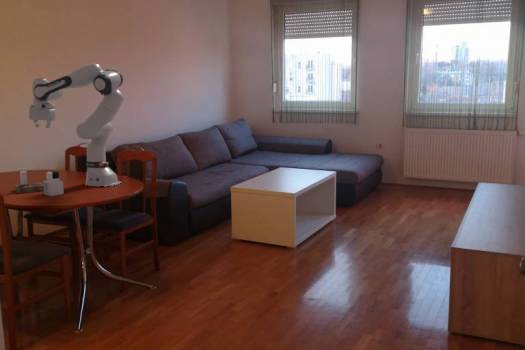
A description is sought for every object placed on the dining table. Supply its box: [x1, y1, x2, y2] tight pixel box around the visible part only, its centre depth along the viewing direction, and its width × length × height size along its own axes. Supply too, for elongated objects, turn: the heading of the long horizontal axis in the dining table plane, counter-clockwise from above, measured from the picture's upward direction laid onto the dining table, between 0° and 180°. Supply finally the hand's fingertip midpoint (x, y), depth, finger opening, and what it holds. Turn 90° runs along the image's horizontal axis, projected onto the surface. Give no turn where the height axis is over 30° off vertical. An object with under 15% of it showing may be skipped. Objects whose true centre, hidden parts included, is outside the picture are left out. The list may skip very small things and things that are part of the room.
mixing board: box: [14, 181, 44, 194], centre depth 311 cm, size 20×11×3 cm, turn 126°
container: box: [42, 170, 64, 197], centre depth 298 cm, size 8×8×13 cm
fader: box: [19, 170, 30, 186], centre depth 306 cm, size 4×5×8 cm
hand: (42, 127), depth 330 cm, fingers open, 8 cm apart
